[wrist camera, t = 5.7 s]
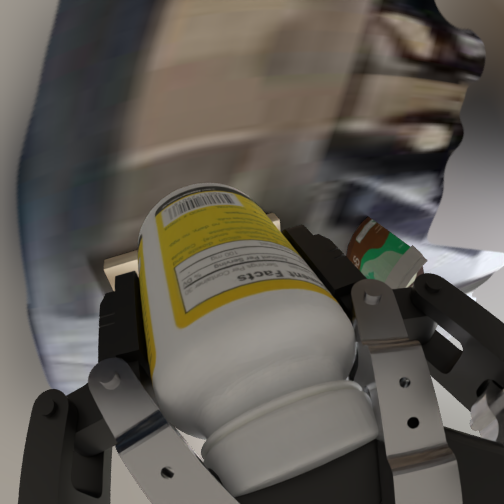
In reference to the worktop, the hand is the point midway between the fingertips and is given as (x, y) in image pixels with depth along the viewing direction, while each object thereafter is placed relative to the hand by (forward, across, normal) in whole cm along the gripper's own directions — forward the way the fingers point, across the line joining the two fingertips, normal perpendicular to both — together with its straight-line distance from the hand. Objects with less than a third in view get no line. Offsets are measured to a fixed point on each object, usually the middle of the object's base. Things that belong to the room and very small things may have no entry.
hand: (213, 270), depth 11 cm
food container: (+15, -19, +16) cm, 29 cm away
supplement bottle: (+2, 0, 0) cm, 2 cm away
